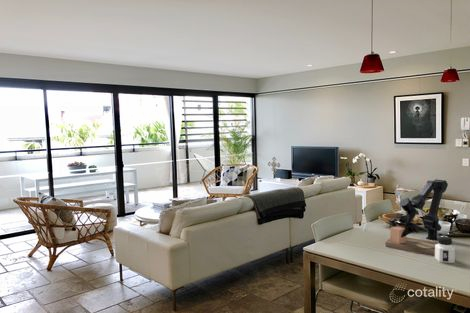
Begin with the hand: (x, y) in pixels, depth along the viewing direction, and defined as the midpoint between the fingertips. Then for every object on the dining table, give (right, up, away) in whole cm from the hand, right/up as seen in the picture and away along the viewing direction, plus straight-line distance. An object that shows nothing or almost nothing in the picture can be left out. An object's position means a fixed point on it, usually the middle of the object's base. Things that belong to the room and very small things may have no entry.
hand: (396, 235), depth 225 cm
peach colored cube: (+1, -4, +1) cm, 4 cm away
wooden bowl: (+22, -4, +45) cm, 50 cm away
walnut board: (+10, -7, -1) cm, 12 cm away
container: (+16, -9, -24) cm, 30 cm away
